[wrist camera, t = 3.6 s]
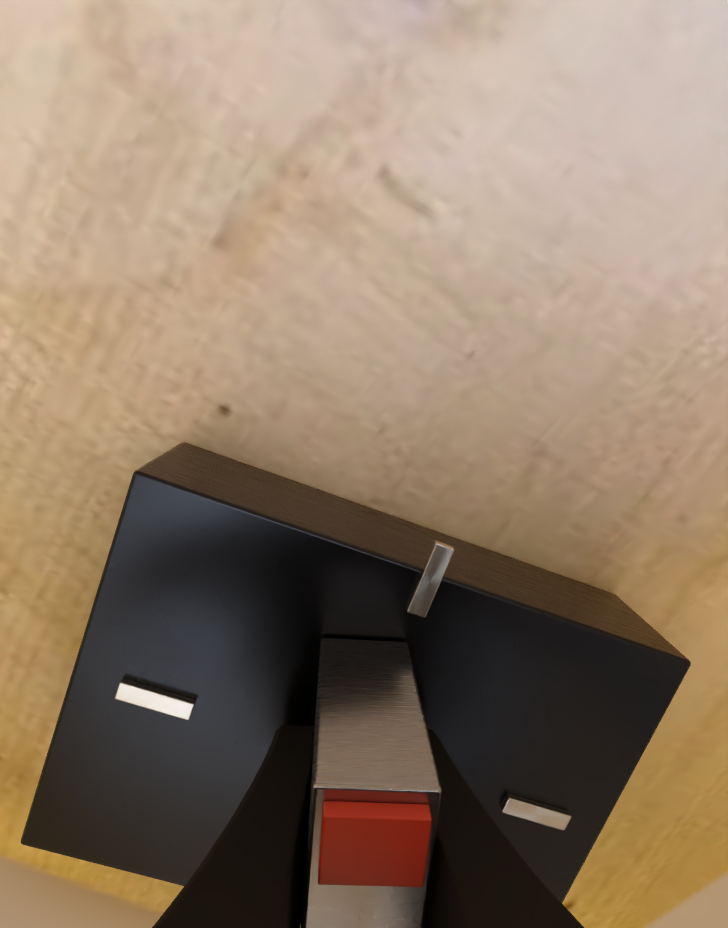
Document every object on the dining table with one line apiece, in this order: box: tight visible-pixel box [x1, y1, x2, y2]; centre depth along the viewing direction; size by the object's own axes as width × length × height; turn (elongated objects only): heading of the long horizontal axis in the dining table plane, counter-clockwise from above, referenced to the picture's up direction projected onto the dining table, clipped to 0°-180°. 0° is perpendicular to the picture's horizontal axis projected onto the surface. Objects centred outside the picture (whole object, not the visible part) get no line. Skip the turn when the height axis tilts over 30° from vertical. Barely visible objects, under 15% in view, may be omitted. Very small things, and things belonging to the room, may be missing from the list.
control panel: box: [21, 443, 691, 903], centre depth 12 cm, size 9×11×3 cm
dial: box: [300, 638, 442, 928], centre depth 9 cm, size 5×2×4 cm, turn 175°
